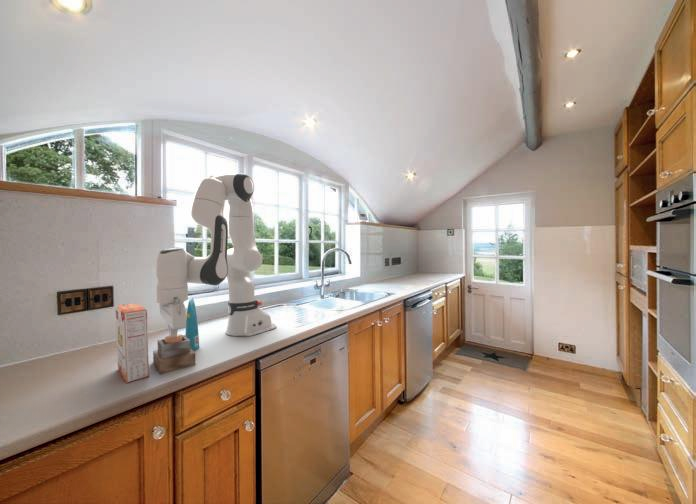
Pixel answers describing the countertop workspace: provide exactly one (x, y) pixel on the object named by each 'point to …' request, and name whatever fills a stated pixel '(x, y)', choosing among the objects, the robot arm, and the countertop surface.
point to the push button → (173, 339)
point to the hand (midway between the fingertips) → (173, 336)
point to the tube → (192, 326)
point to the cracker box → (132, 341)
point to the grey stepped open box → (173, 355)
